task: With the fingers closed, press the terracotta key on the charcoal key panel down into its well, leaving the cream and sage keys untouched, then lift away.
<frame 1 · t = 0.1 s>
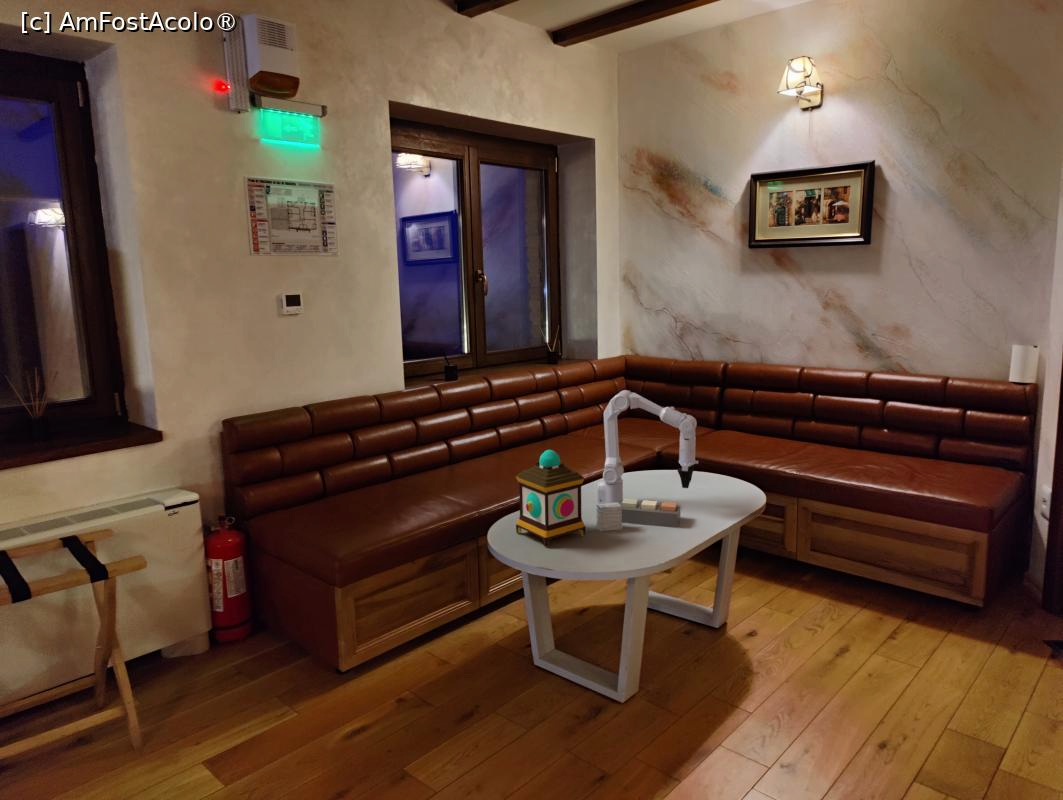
hand: (686, 484, 271), 10 cm above the table, fingers open, 7 cm apart
terracotta key: (668, 508, 261), point 5 cm above the table, slide at 0.0 cm
decorative lantern: (550, 535, 252), on the table
key panel: (649, 520, 264), on the table
medicine box: (609, 529, 256), on the table
sage key: (629, 505, 265), point 5 cm above the table, slide at 0.0 cm
cream key: (649, 506, 263), point 5 cm above the table, slide at 0.0 cm
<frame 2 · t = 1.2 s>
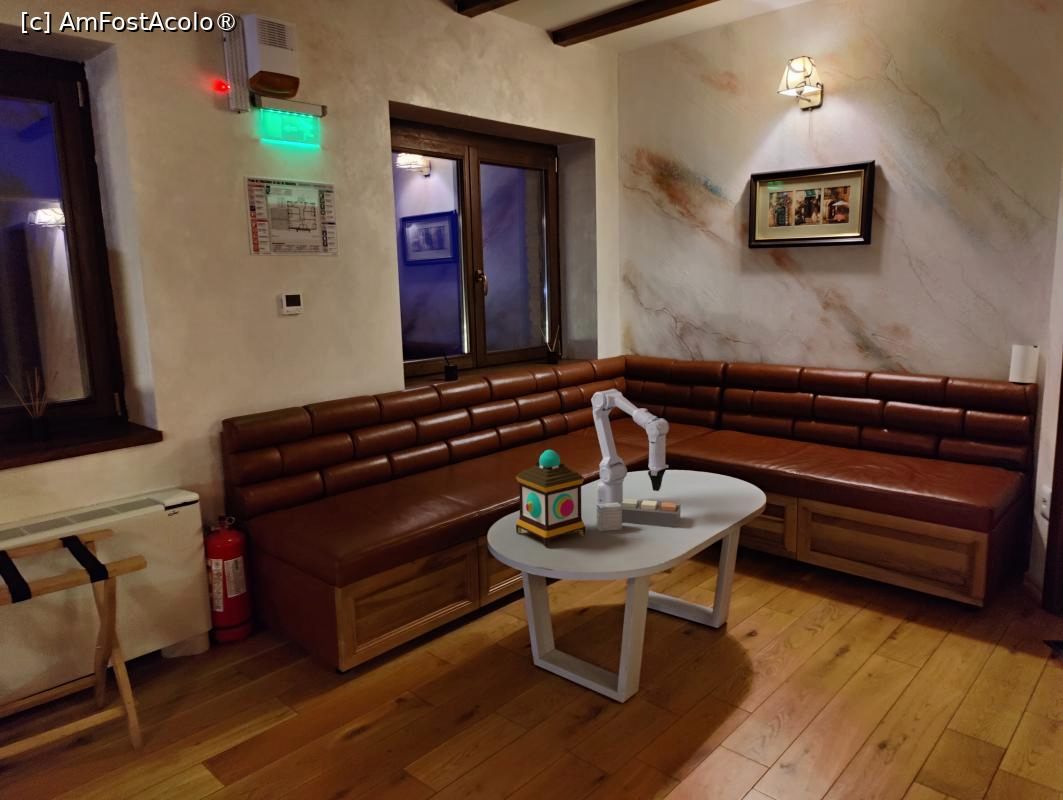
hand: (656, 489, 265), 10 cm above the table, fingers closed
nothing on the table moved.
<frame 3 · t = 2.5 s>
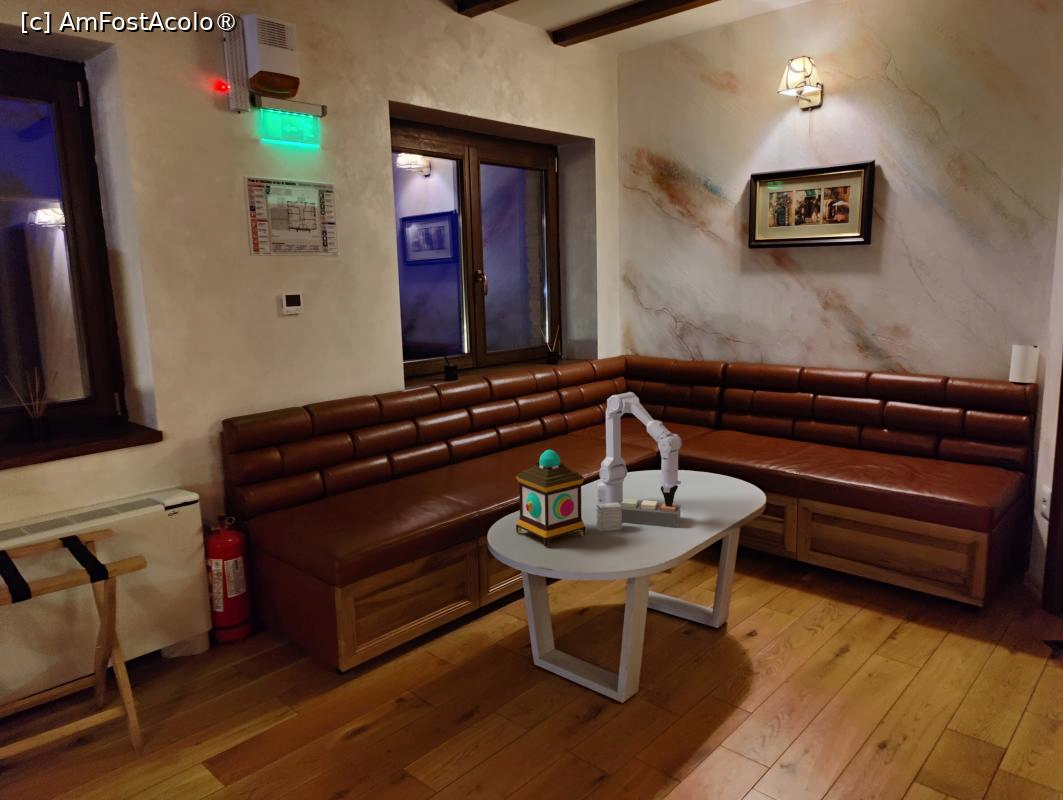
hand: (669, 506, 260), 6 cm above the table, fingers closed, pressing on terracotta key
terracotta key: (668, 509, 261), point 4 cm above the table, slide at 0.6 cm, touching gripper
everything else where it was.
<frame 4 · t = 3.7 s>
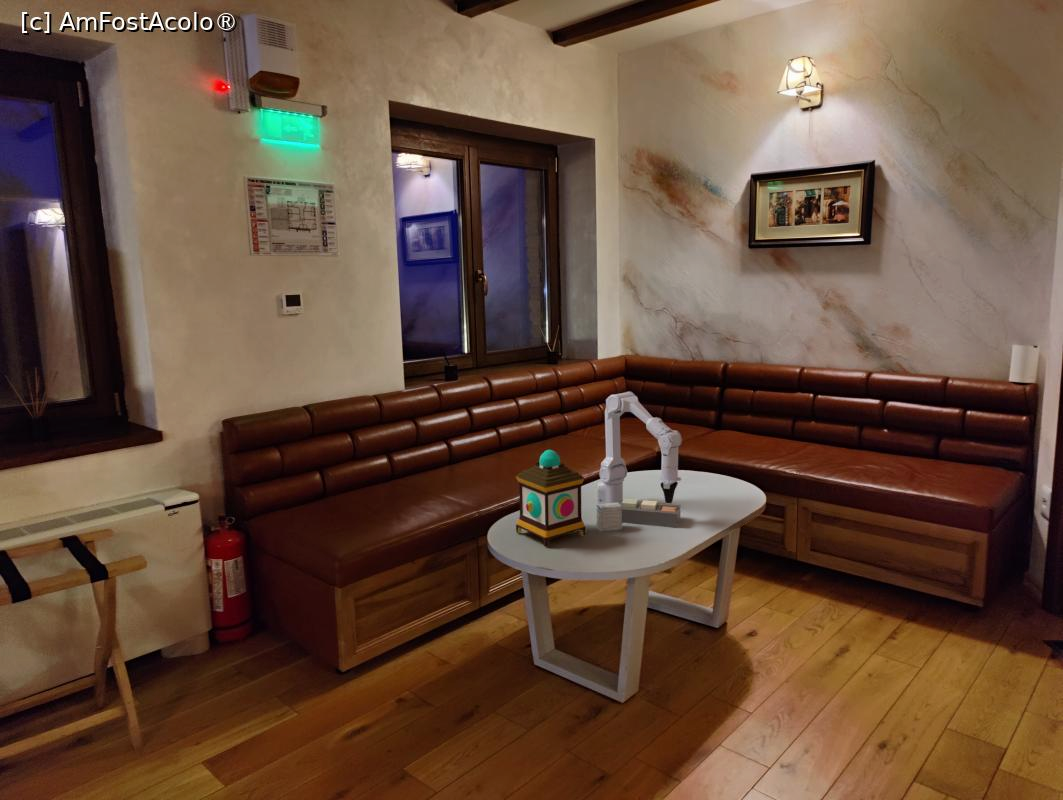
hand: (668, 502, 260), 7 cm above the table, fingers closed
terracotta key: (668, 512, 261), point 3 cm above the table, slide at 1.7 cm
everything else where it was.
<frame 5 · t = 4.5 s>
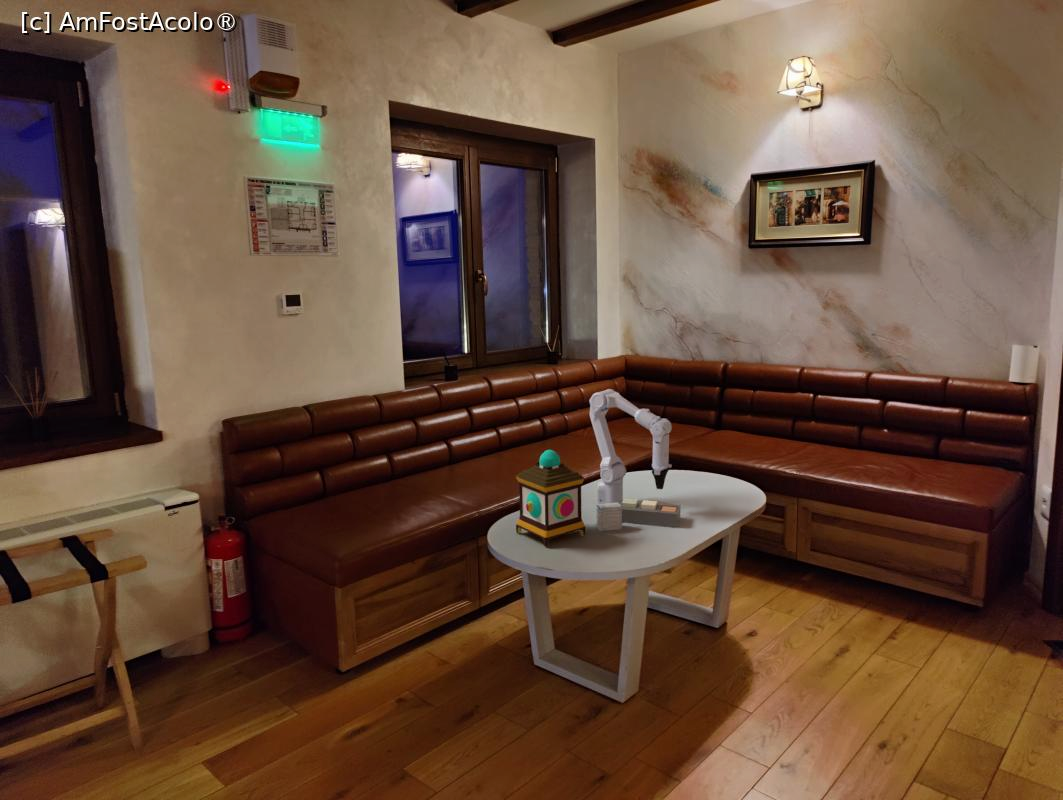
hand: (659, 488, 269), 10 cm above the table, fingers closed
nothing on the table moved.
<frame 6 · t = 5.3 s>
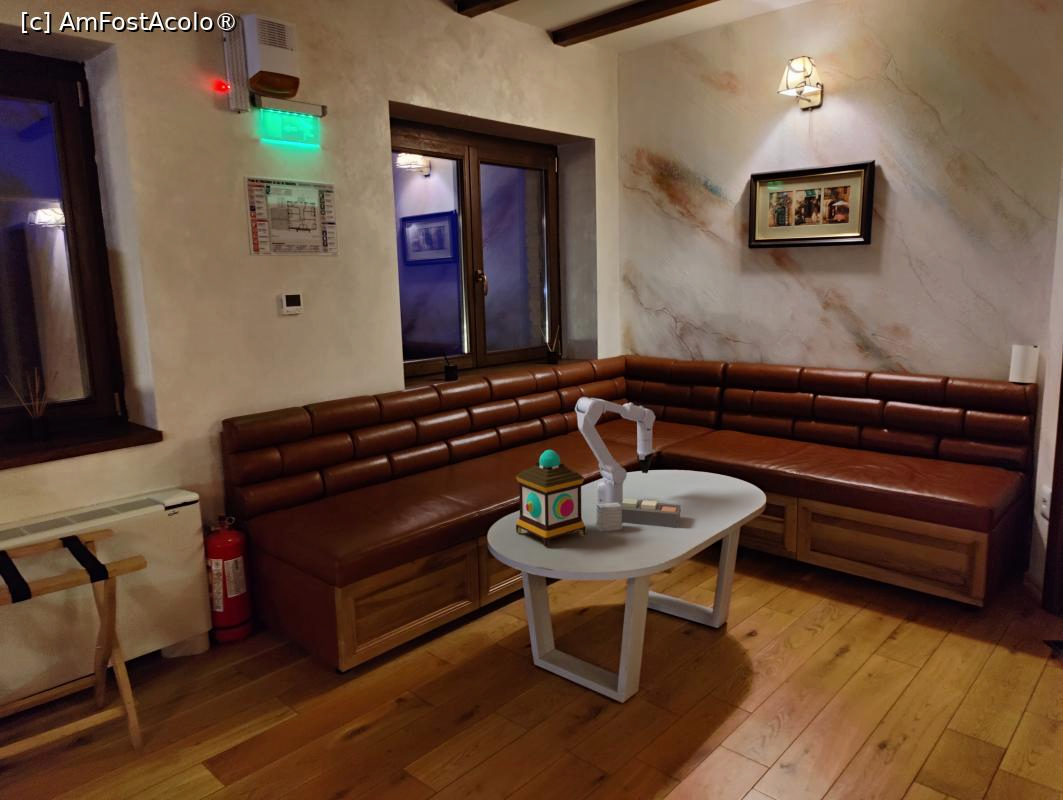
hand: (645, 472, 286), 10 cm above the table, fingers closed
nothing on the table moved.
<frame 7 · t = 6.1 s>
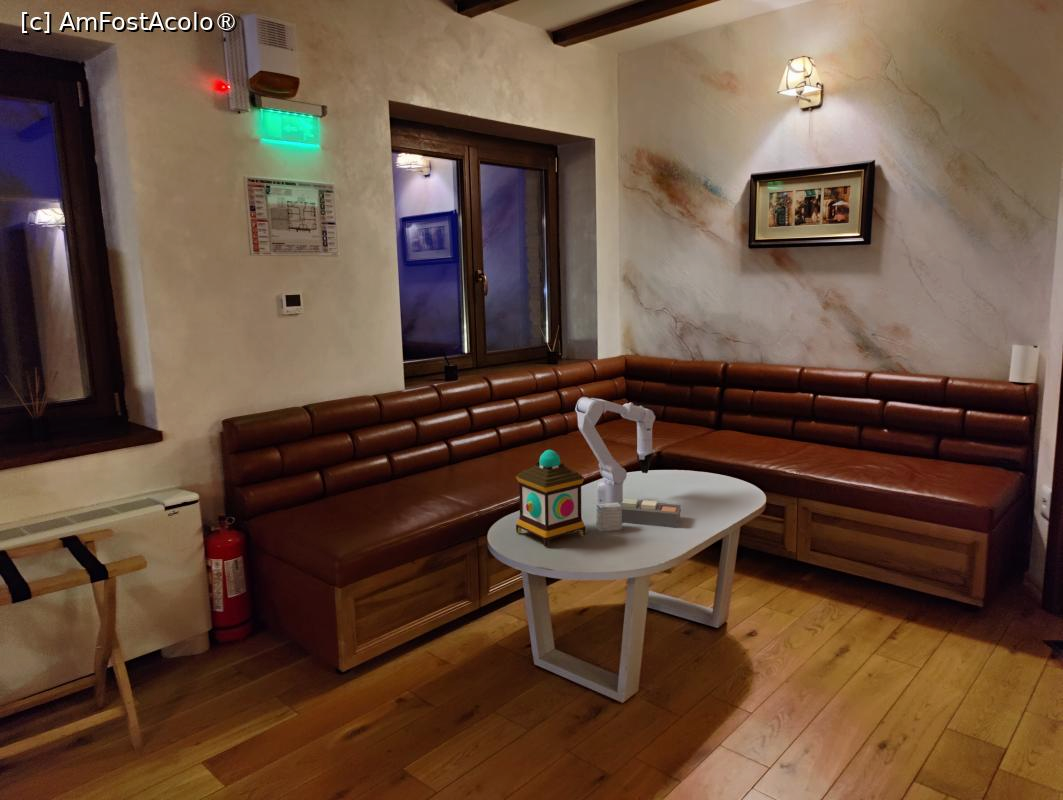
hand: (645, 472, 286), 10 cm above the table, fingers closed
nothing on the table moved.
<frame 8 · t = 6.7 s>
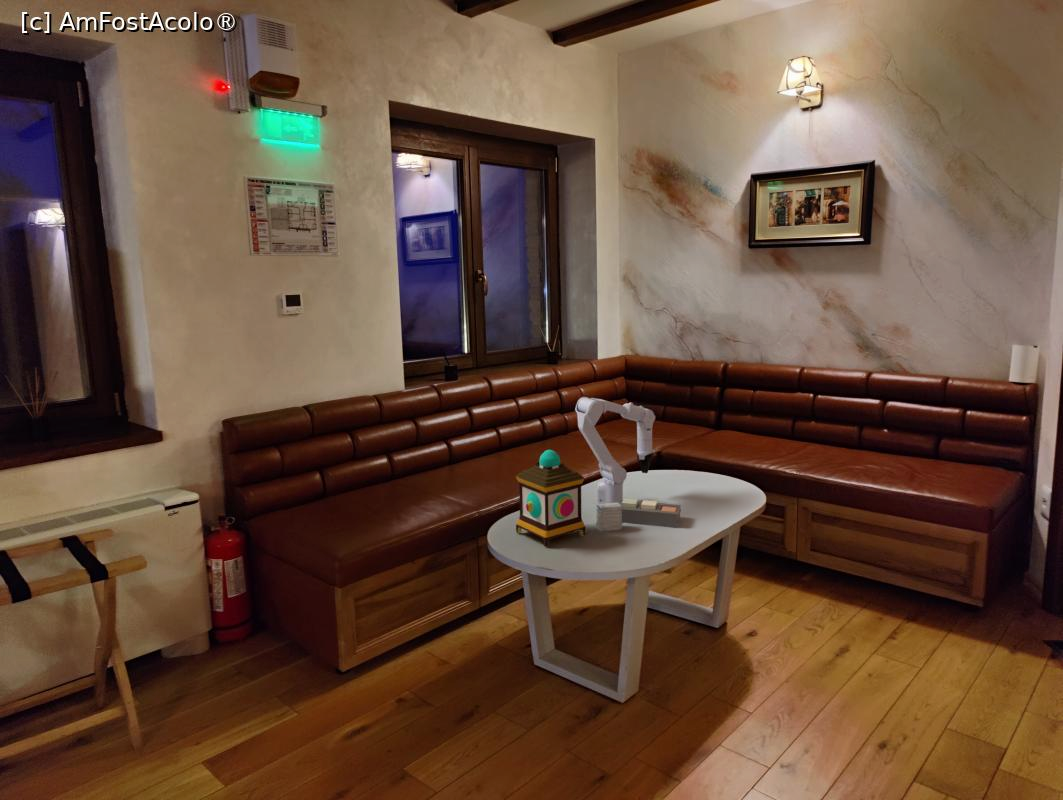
hand: (645, 472, 286), 10 cm above the table, fingers closed
nothing on the table moved.
at the end: terracotta key slide at 1.7 cm; sage key slide at 0.0 cm; cream key slide at 0.0 cm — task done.
